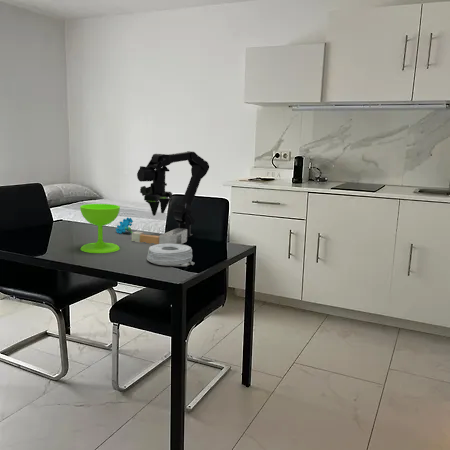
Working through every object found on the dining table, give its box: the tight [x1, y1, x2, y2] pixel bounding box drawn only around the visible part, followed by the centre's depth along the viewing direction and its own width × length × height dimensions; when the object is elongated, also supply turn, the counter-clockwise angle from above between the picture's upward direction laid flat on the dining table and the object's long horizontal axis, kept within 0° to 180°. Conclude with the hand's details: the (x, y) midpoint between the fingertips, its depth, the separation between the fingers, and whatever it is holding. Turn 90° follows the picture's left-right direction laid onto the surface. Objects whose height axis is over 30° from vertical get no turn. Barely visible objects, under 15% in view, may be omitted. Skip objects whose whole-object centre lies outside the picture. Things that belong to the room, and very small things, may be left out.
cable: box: [146, 244, 195, 267], centre depth 175 cm, size 18×18×6 cm
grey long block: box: [158, 227, 188, 245], centre depth 203 cm, size 20×5×6 cm, turn 163°
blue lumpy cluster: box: [115, 217, 134, 235], centre depth 226 cm, size 11×6×10 cm
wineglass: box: [79, 203, 121, 254], centre depth 189 cm, size 16×16×18 cm
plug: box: [131, 231, 159, 245], centre depth 207 cm, size 4×13×4 cm, turn 73°
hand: (158, 214), depth 213 cm, fingers open, 9 cm apart
